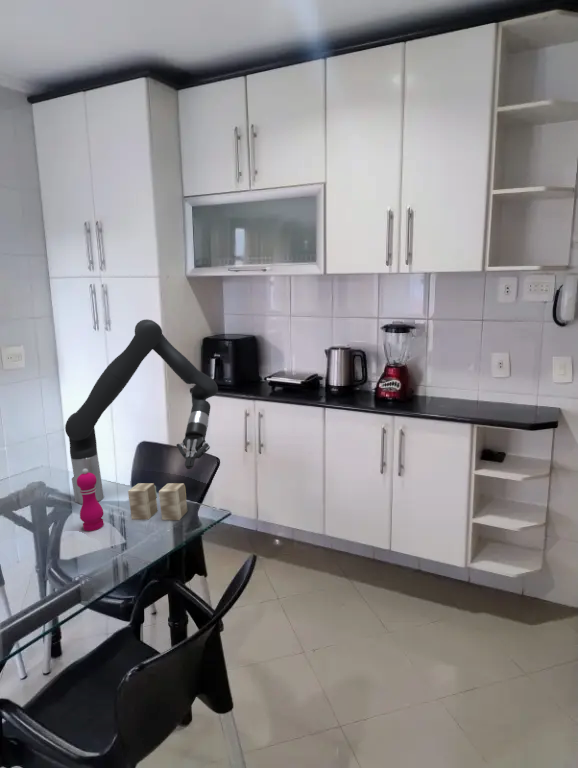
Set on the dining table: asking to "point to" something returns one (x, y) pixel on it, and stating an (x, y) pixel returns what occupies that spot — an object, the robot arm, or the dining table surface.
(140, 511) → the post left
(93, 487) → the pepper mill
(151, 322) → the robot arm
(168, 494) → the post right
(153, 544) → the dining table surface
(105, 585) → the dining table surface
